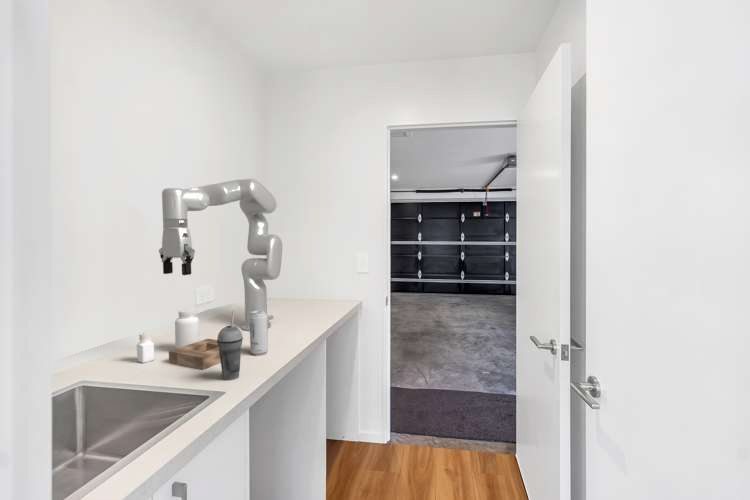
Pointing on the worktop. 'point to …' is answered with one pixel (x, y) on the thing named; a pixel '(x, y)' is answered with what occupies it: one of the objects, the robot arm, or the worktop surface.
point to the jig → (197, 354)
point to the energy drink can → (258, 333)
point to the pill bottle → (186, 328)
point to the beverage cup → (230, 350)
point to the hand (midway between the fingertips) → (177, 274)
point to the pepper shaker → (145, 348)
